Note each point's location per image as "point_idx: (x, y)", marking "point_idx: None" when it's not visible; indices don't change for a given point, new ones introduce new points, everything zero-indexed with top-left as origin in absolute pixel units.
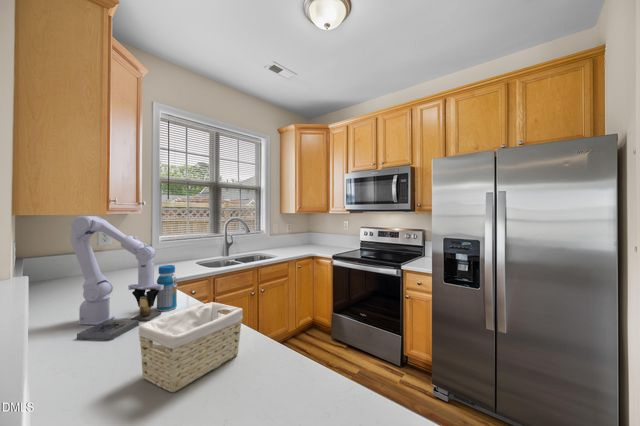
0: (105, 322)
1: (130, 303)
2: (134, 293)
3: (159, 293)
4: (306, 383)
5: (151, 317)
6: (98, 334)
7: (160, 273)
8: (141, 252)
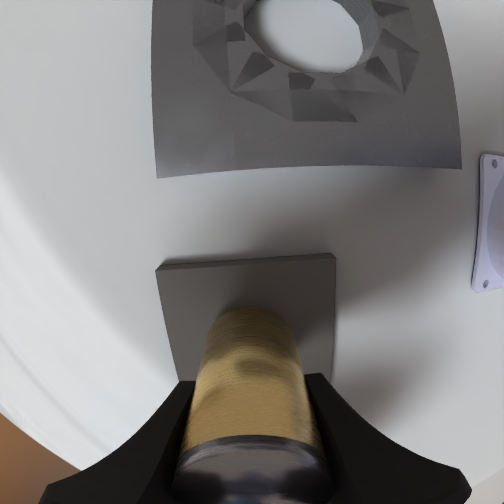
0: (431, 101)
1: (472, 442)
2: (420, 487)
3: None
4: None
5: (165, 312)
6: None
7: None
8: None
